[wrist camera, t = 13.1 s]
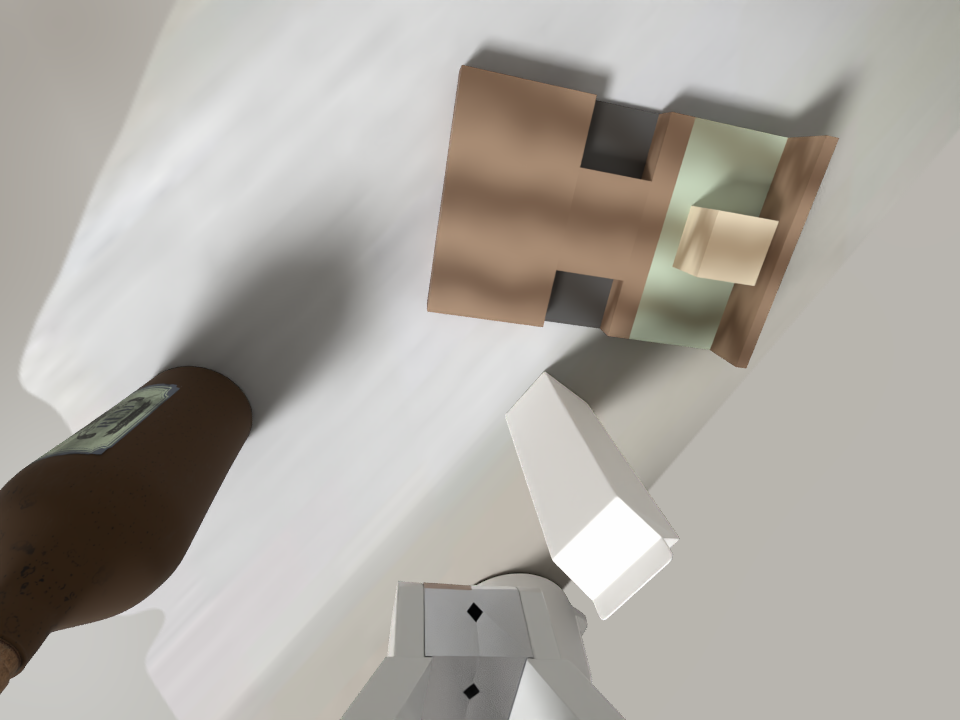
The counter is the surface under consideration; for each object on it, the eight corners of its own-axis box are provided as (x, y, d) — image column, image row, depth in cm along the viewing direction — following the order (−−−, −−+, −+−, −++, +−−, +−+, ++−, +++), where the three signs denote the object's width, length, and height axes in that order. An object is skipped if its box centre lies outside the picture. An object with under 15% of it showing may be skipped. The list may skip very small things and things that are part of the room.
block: (725, 275, 42) (754, 286, 38) (672, 266, 41) (696, 277, 37) (746, 215, 40) (778, 221, 37) (691, 205, 39) (719, 210, 36)
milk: (587, 402, 48) (710, 578, 28) (547, 445, 50) (637, 642, 29) (543, 369, 46) (641, 532, 26) (502, 415, 48) (565, 603, 27)
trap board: (705, 341, 47) (746, 368, 41) (427, 303, 43) (427, 326, 37) (777, 141, 41) (838, 138, 35) (459, 70, 36) (466, 53, 30)
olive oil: (283, 431, 46) (145, 705, 23) (188, 479, 47) (-39, 791, 24) (209, 337, 42) (-51, 556, 19) (106, 392, 42) (-265, 667, 19)
